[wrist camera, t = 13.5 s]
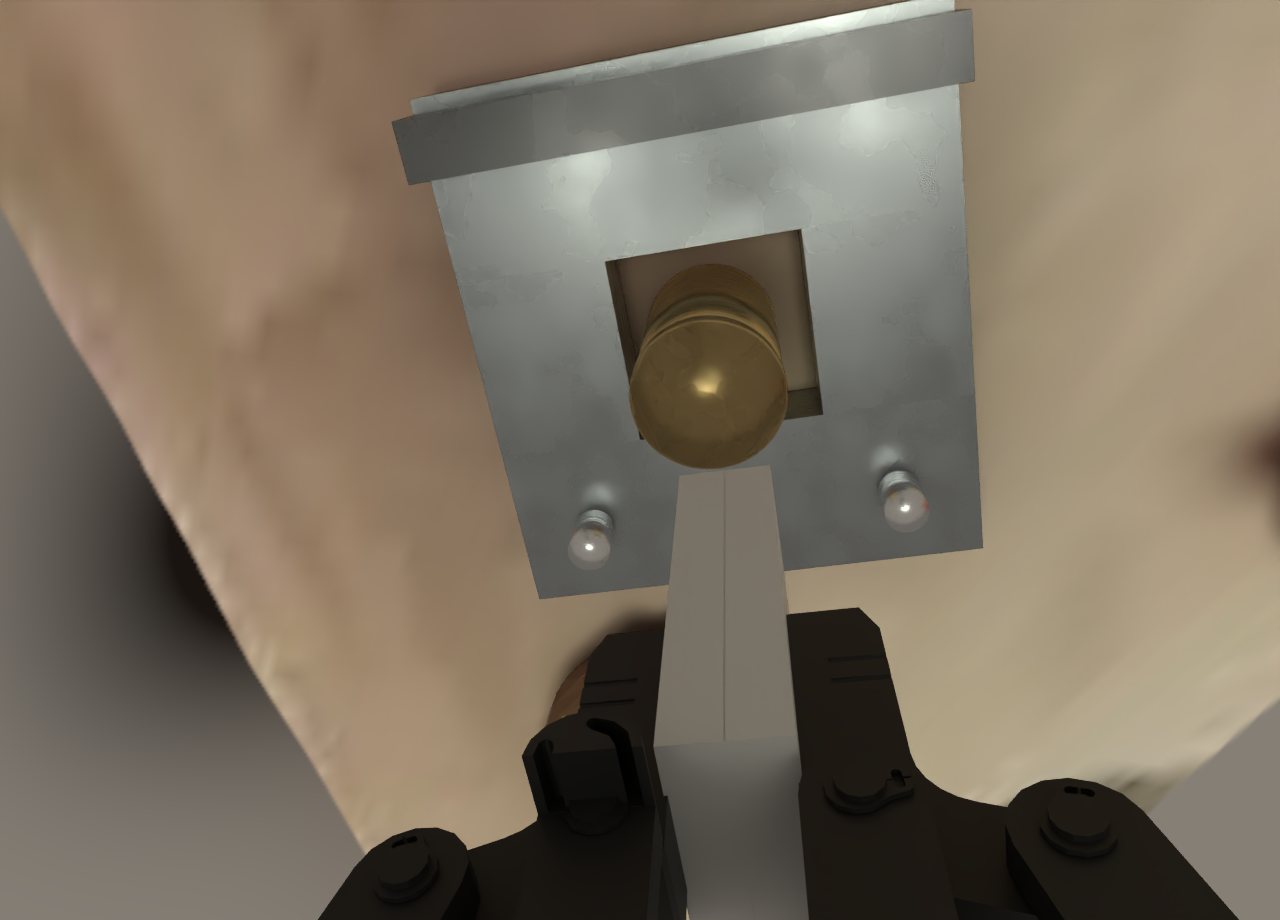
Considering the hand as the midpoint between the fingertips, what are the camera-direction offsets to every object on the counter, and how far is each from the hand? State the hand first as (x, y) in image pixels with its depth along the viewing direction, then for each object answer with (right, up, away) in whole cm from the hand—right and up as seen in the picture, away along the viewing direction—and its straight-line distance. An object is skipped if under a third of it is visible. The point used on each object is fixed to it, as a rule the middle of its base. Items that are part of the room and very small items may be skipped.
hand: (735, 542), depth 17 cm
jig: (+1, +7, +22) cm, 23 cm away
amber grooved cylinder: (+1, +7, +22) cm, 23 cm away
